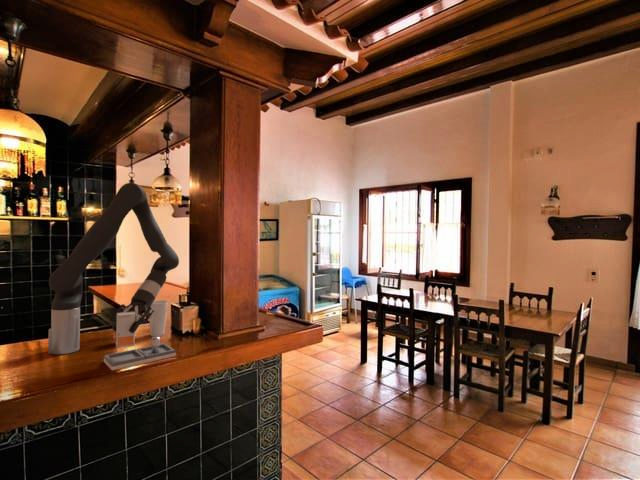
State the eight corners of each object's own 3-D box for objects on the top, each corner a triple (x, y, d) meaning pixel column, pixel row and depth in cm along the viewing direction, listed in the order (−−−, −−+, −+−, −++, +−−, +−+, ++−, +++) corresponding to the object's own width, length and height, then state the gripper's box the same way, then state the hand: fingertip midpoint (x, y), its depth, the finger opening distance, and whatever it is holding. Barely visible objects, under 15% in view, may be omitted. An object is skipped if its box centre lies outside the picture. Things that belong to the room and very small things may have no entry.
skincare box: (115, 348, 124) (116, 315, 124) (116, 344, 128) (116, 312, 128) (135, 345, 127) (135, 313, 127) (135, 342, 131) (135, 311, 131)
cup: (161, 331, 168) (161, 299, 168) (171, 334, 163) (171, 302, 163) (143, 335, 161) (144, 302, 161) (153, 338, 156) (154, 304, 156)
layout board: (111, 370, 120) (112, 349, 120) (103, 361, 127) (104, 342, 127) (175, 356, 135) (175, 337, 135) (164, 349, 143) (165, 331, 143)
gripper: (126, 287, 136) (100, 324, 125) (156, 289, 132) (132, 327, 121) (136, 298, 141) (112, 334, 130) (166, 300, 138) (144, 338, 127)
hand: (122, 331), depth 126 cm, fingers closed on skincare box, 7 cm apart
